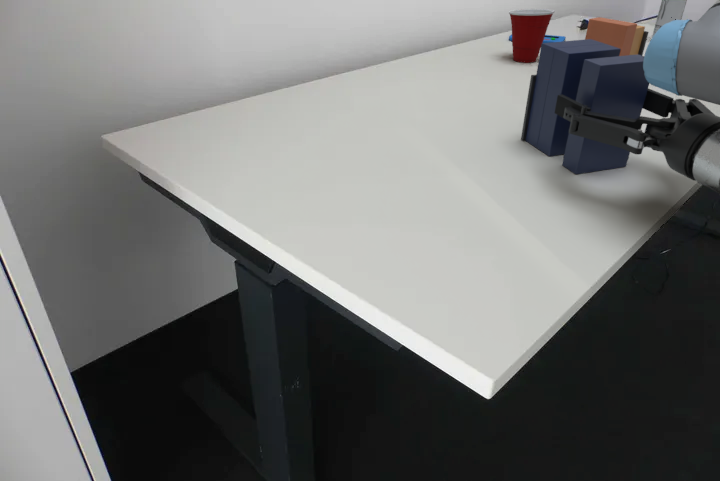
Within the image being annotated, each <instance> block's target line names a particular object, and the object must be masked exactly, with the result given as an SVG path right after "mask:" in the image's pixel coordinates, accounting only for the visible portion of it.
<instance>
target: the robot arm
mask: <svg viewBox="0 0 720 481" xmlns="http://www.w3.org/2000/svg"><path fill="white" fill-rule="evenodd" d="M643 56H644V61H643V70H644V75H645V78H646V80H647V81H648V82H649V85H651V86H653V87H656V88H658V89H661V90H664V91H666V92H669V93H671V94H674V95H676V96H678V97H679V96H680V97H682V96H683V97H687V98H690V99H689V100H688V102H687V101H686V100H685V99H682V98H675V99H674V98H673V97H671V96H669V95H667V94H664V93H661V92H659V91H656V90H653V89H650V88H648V90H647V94H646V97H645V101H644V104H643V108H642V110H646V111H648V112H650V113H652V114H654V115H657V116H660V117H662V118H656V117H649V116H643V115H640V117H638V118H637V119H631V118H626V117H620V116H614V115H608V114H602V113H596V112H590V111H591V108H589V107H588V105H583V104H581V103H579V102H577V101H575V100H573V99H571V98H569V97H567V96H565V95H563V94H561V95H558V97H557V102H556V107H555V112H554V113H555V114H557V115H559V116H561V117H562V118H564V119H566V120H568V121H570V122H571V124H570V128H569V133H570V134H573V135H577V136H580V137H584V138H587V139H591V140H594V141H598V142H601V143H605V144H608V145H612V146H615V147H619V148H622V149H624V150H627V151H629V152H630V154H634V155H642V153H643V150H644V148H650V149H652V150H653V151H655V152H661V153H663V156H664V158H665V161H666V164H667V166H668V167H669V168H670V169H671V170H673V171H674V172H676V173H678V174H680V175H682V176H684V177H686V178H688V179H689V180H692V181H695V182H697V183H698V184H700V185H702V186H703V187H706V188H707V189H709V190H711V191H713V192H715V193H717V194H719V195H720V116H718V115H716V114H715V113H714V112H712V111H711V110H710V109H709V108H708V107H707V106H706V105H705V104H704V103H702V102H706V103H710V104H714V105H717V106H718V105H719V106H720V0H716V1H715V2H714V3H713V5H711V6H710V7H709V8H708V9H707V10H706V11H705V12H704V14H703V15H702V16H700V18H699V19H698V20H692V19H690V18H689V19H688V18H687V19H681V20H673V21H671V22H669V23H666V24H664V25H663V26H662V27H661V28H660V29H659V30H658V31H657V32H656V33H655V34H654V36H653V37H652V36H651V39H650V41H649V43H648V44H647V47H646V50H645V52H644V55H643ZM701 101H702V102H701ZM669 114H670V117H669ZM643 125H646V127H645V129H644V131H643V130H642V127H643Z"/></svg>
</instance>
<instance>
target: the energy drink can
mask: <svg viewBox="0 0 720 481" xmlns="http://www.w3.org/2000/svg"><path fill="white" fill-rule="evenodd" d="M687 2H688V0H661V2H660V6H659V10H658V13H657V18H656V21H655V24H654V28H653V32H652V35H651V38H652V37H653V36H654V34H655V33H656V32H657V31H658V30H659V29H660V28H661V27H662V26H663V25H664V24H666V23H669V22H671V21H673V20H675V19H676V20H683V19H682V18H683V15H684V12H685V8H686V5H687ZM671 17H672V18H671Z"/></svg>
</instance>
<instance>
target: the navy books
mask: <svg viewBox="0 0 720 481" xmlns="http://www.w3.org/2000/svg"><path fill="white" fill-rule="evenodd" d="M620 51H621V49H620V48H617V47H614V46H611V45H608V44H604V43H601V42H598V41H595V40H592V39H586V40H585V39H575V40H565V41H563V42H551V43H542V45H541V48H540V51H539V56H538V64H537V68H536V74H531V75H530V80H529V86H528V93H527V97H526V107H525V111H524V118H523V123H522V129H521V136H520V140H521V141H522V142H524V141H525V142H526V143H528V144H530V145H532V146H533V147H534V148H535V149H537V150H538V151H540V152H541V153H544V154H545V155H546V156H548V157H554V156H561V155H564V154H565V149H566V144H567V139H568V135H569V128H570V124H571V122H570V121H568V120H566V119H564V118H562V117H561V116H559V115H557V114H555V113H554V112H555V107H556V102H557V97H558V95H561V94H563V95H565V96H567V97H569V98H571V99H573V100H575V101H576V97H577V92H578V88H579V83H580V78H581V73H582V69H583V64H584V60H585V59H595V58H605V57H616V56H619V55H620Z"/></svg>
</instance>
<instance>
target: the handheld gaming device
mask: <svg viewBox="0 0 720 481" xmlns="http://www.w3.org/2000/svg"><path fill="white" fill-rule="evenodd" d="M566 39H567V38H566V36H563V35H552V34H545V37H544V40H543V43H551V42H563V41H566ZM508 40H509V41H511V42H512V33H511V34H510V35H509V36H508Z"/></svg>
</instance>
